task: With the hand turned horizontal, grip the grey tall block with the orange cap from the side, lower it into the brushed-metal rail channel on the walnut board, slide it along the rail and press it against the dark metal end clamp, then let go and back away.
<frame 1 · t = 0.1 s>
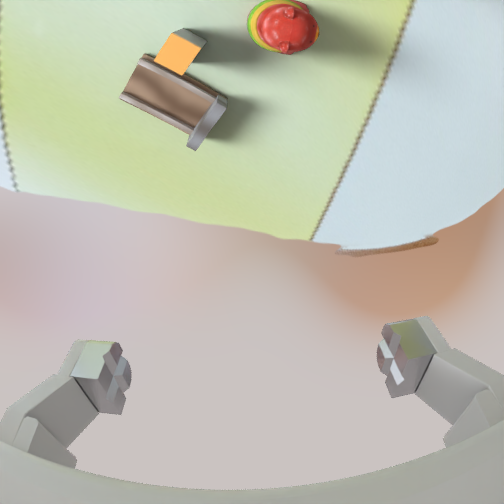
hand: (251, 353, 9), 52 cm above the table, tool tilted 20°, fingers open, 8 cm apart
stacking bear: (275, 23, 41), on the table
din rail: (172, 96, 49), on the table
grey tall block: (187, 45, 43), on the table
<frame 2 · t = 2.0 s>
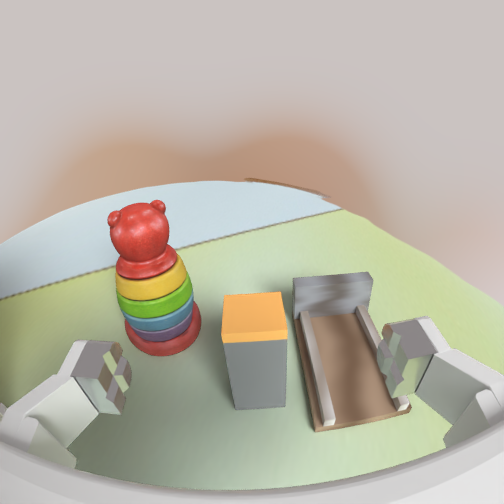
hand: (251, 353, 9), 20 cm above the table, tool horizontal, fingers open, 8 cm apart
stacking bear: (166, 332, 39), on the table
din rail: (344, 359, 32), on the table
grey tall block: (259, 389, 30), on the table
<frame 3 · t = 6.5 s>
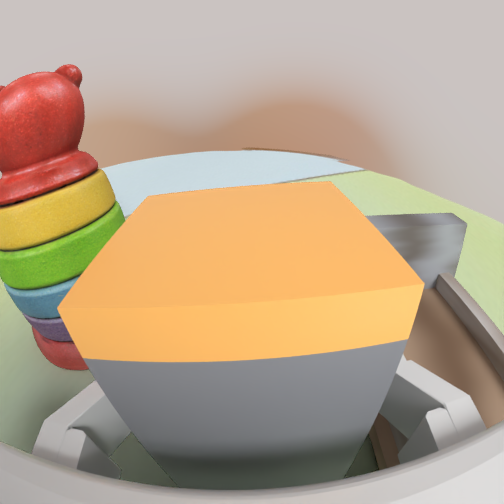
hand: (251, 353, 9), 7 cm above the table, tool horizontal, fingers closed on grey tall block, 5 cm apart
stacking bear: (94, 326, 20), on the table
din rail: (437, 377, 13), on the table
grey tall block: (262, 461, 11), on the table, touching gripper
when the fingers open (8 cm above the table, at t = 13.5 s): grey tall block stays where it is, resting on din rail.
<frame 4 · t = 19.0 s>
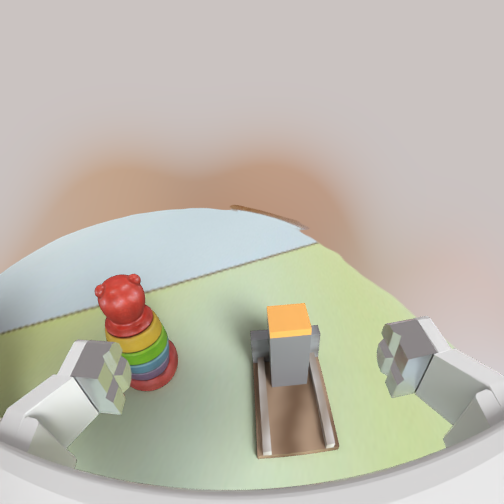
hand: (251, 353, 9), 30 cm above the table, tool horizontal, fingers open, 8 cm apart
stacking bear: (149, 369, 45), on the table
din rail: (291, 400, 39), on the table
grey tall block: (287, 372, 42), point 1 cm above the table, touching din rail
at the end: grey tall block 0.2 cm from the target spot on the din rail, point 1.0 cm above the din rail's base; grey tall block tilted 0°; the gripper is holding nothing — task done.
